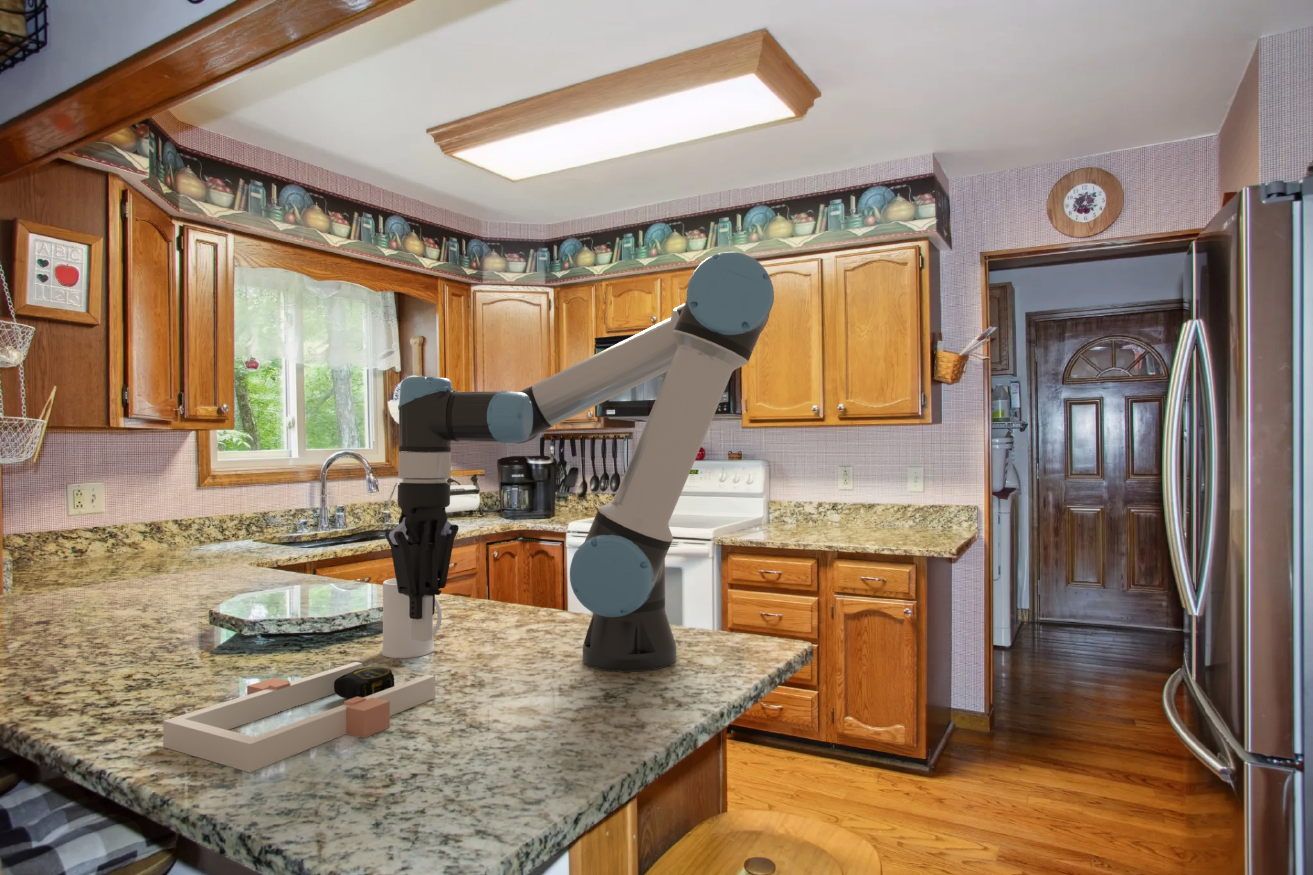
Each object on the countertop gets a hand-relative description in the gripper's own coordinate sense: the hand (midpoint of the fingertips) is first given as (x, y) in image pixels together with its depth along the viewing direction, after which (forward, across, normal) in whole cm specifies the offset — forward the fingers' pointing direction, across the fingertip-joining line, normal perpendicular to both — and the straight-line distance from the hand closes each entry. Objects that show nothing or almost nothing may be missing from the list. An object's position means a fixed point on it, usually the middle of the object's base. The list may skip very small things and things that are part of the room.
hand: (421, 639), depth 116 cm
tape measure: (+6, +11, 0) cm, 13 cm away
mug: (+6, -10, -12) cm, 17 cm away
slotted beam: (+6, +19, 0) cm, 20 cm away
